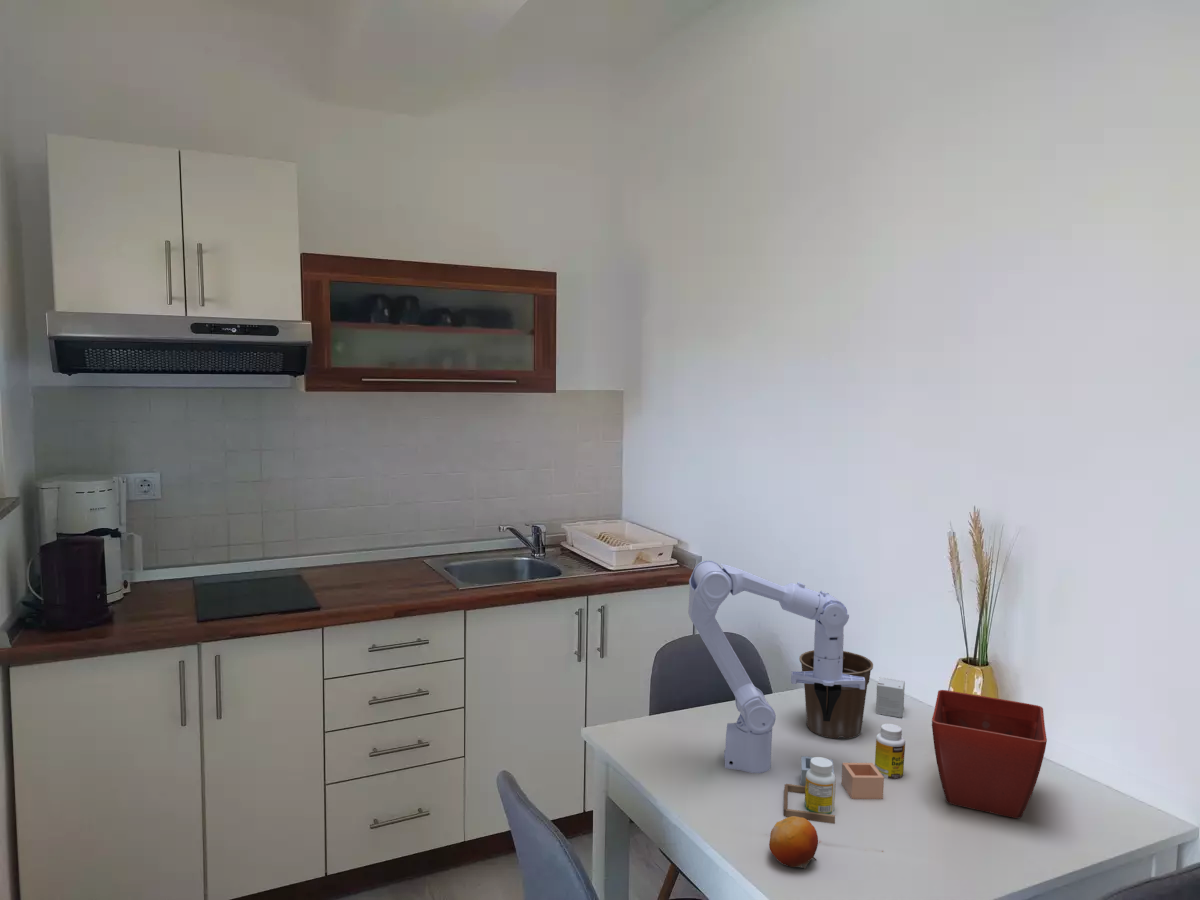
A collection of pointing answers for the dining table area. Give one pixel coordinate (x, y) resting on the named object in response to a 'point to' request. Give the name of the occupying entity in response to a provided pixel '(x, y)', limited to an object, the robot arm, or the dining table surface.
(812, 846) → the fruit
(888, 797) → the dining table surface
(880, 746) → the supplement bottle
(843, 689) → the plant pot
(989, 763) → the plant pot
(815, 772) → the supplement bottle
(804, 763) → the cup slate
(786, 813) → the corral
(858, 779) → the peach square planter
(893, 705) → the skincare box
